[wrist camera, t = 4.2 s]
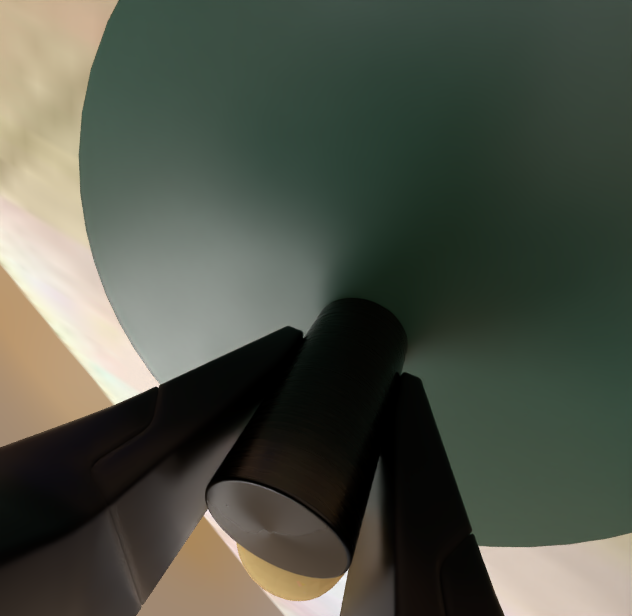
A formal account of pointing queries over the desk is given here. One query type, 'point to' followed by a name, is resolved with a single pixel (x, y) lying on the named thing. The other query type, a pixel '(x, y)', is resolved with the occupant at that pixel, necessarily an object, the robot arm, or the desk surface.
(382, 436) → the tin lid
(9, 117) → the desk surface
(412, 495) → the robot arm
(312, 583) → the light bulb
